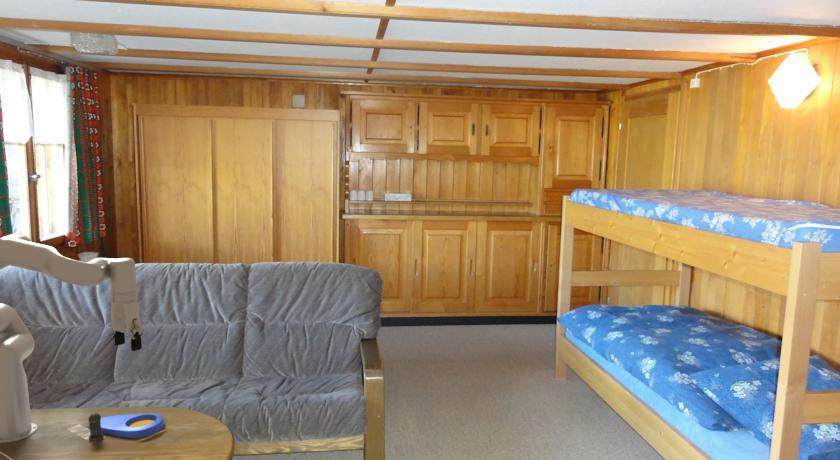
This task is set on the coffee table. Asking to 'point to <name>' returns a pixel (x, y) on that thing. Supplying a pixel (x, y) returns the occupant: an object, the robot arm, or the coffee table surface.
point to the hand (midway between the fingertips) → (128, 347)
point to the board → (81, 432)
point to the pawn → (95, 427)
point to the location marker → (132, 425)
